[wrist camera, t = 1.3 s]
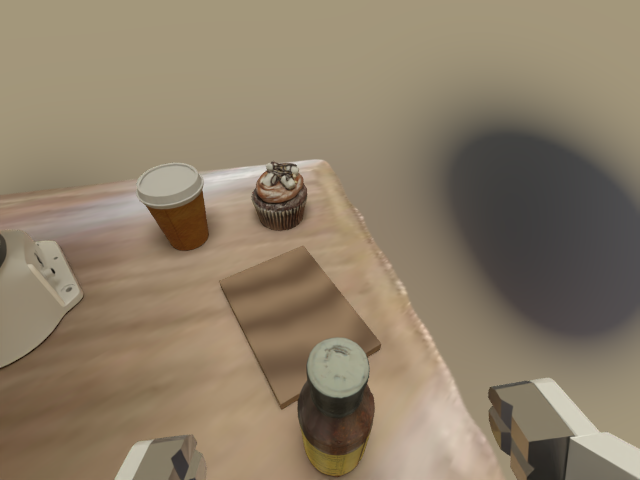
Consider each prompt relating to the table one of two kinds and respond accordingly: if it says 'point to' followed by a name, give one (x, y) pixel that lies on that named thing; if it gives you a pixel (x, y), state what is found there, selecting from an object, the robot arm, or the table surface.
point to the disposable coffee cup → (176, 203)
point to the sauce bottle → (336, 406)
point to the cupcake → (280, 196)
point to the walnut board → (291, 317)
